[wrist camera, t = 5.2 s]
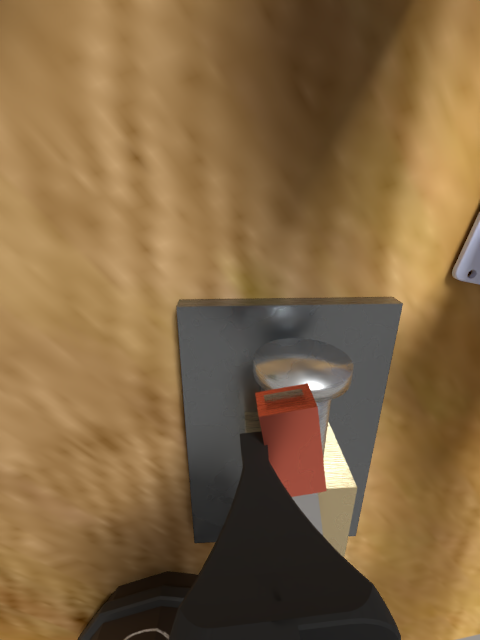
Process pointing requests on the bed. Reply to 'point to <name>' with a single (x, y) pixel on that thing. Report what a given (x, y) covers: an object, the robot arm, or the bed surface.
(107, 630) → the black drum container
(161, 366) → the bed surface
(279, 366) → the valve assembly
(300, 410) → the valve lever
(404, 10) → the bed surface
